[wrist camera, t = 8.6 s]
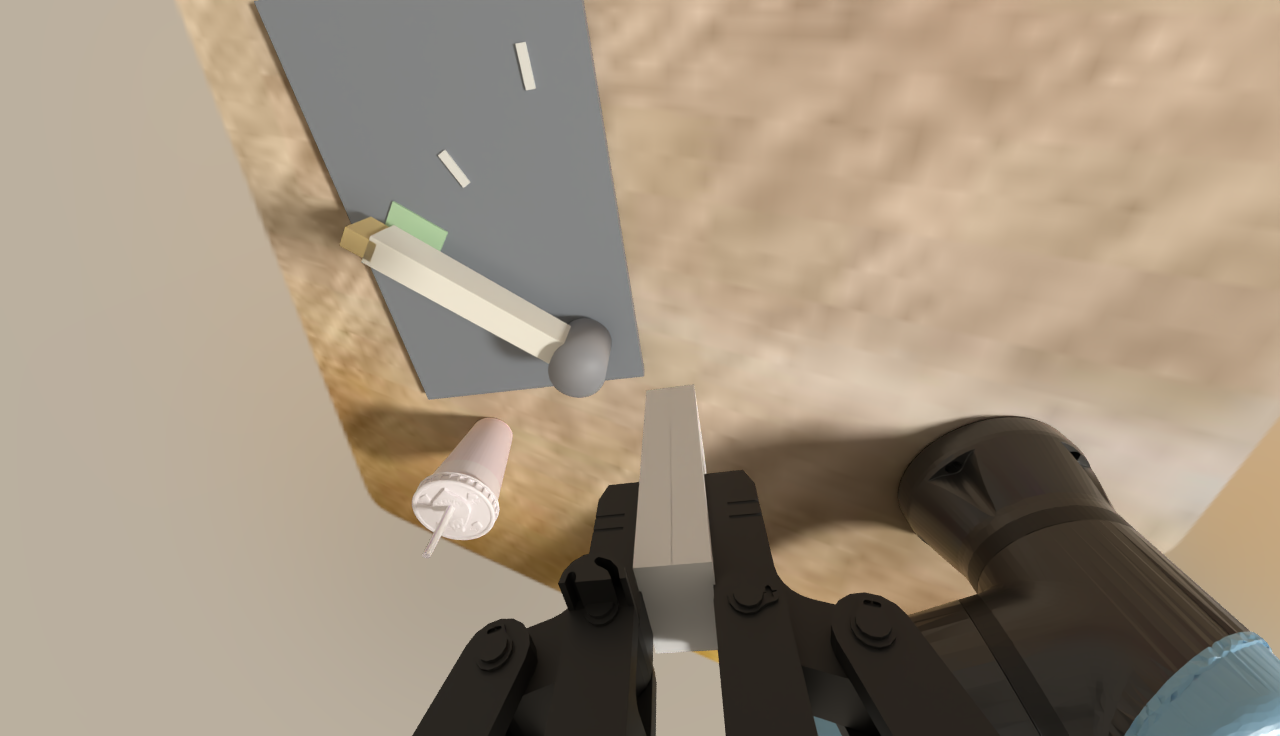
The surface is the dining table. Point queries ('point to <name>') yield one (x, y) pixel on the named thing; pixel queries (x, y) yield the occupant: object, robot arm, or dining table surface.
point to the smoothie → (465, 485)
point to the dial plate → (469, 163)
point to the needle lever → (487, 305)
